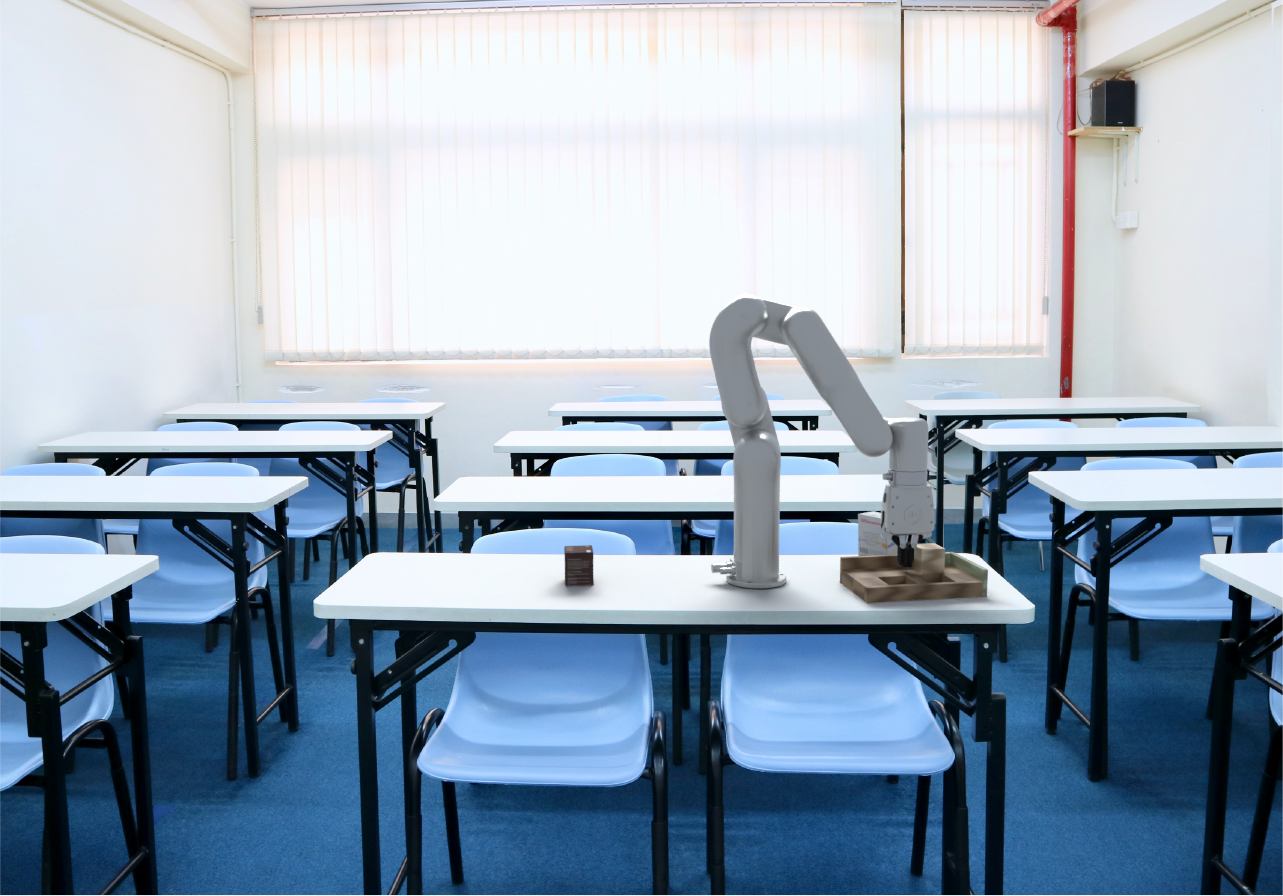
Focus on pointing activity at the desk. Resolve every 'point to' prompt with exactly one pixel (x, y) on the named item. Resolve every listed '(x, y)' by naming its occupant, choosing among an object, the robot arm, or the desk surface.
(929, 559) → the beech block
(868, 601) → the tray
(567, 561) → the box
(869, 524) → the ink box
